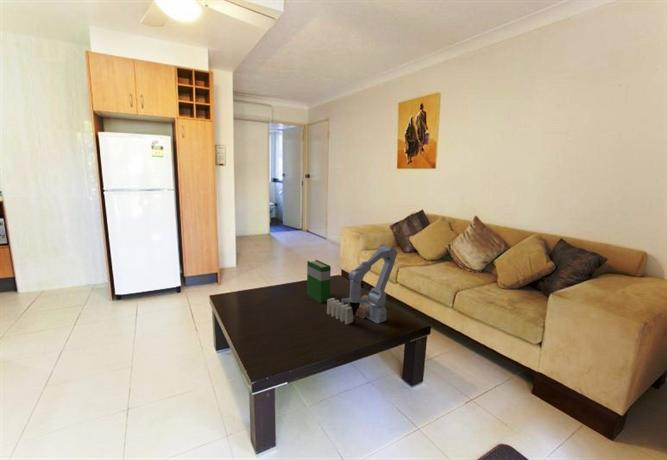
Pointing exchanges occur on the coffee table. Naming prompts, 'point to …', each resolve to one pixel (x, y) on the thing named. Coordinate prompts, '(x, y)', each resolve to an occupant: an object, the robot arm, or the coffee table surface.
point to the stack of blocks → (363, 308)
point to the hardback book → (318, 280)
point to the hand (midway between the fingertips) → (354, 314)
